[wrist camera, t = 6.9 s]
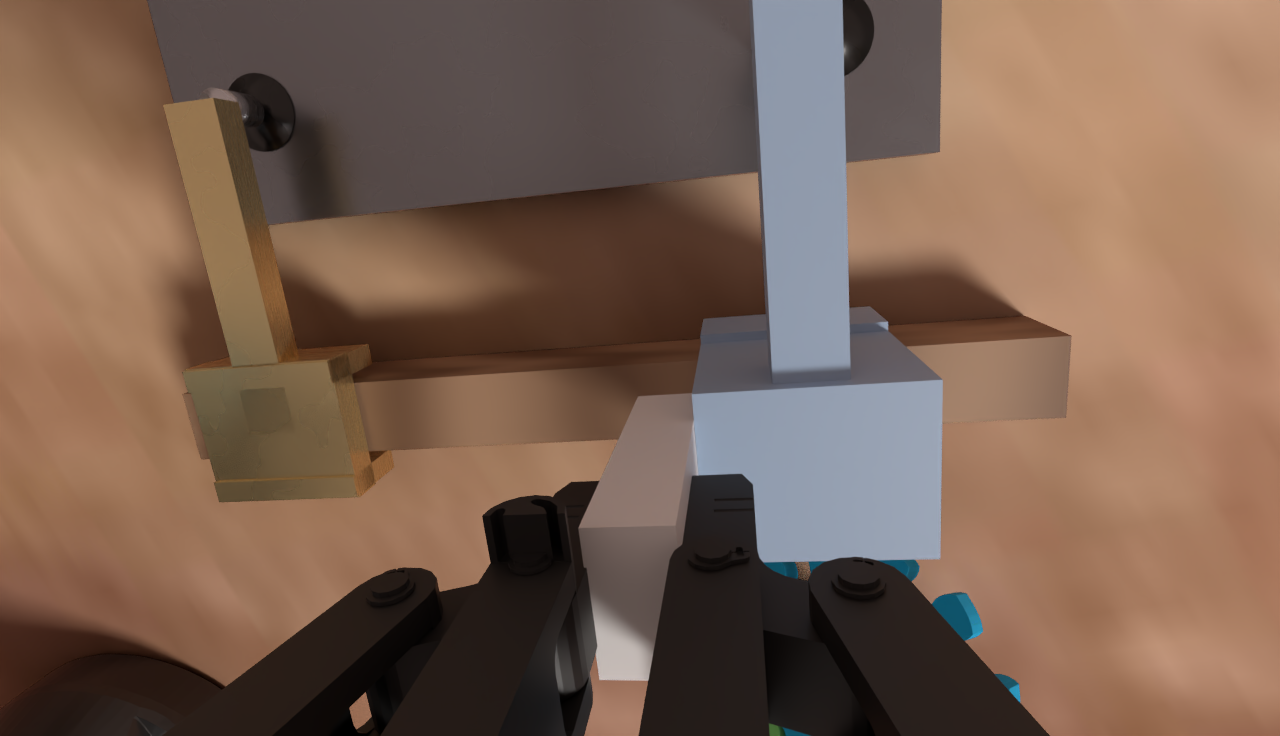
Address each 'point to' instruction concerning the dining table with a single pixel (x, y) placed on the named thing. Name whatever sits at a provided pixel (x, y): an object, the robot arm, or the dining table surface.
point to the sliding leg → (816, 337)
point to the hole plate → (521, 93)
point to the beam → (671, 386)
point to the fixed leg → (262, 333)
